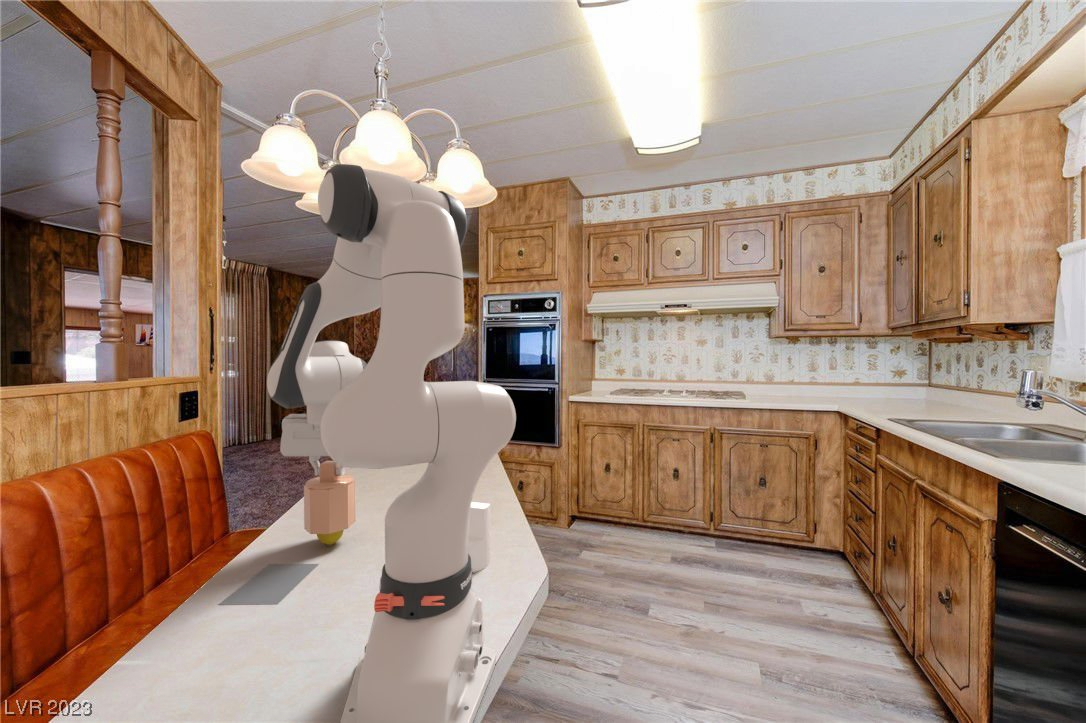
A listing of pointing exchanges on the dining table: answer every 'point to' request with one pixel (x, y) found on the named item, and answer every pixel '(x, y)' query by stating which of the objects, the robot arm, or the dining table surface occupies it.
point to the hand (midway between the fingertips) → (329, 475)
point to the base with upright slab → (479, 535)
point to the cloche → (329, 501)
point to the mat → (270, 585)
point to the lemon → (330, 537)
